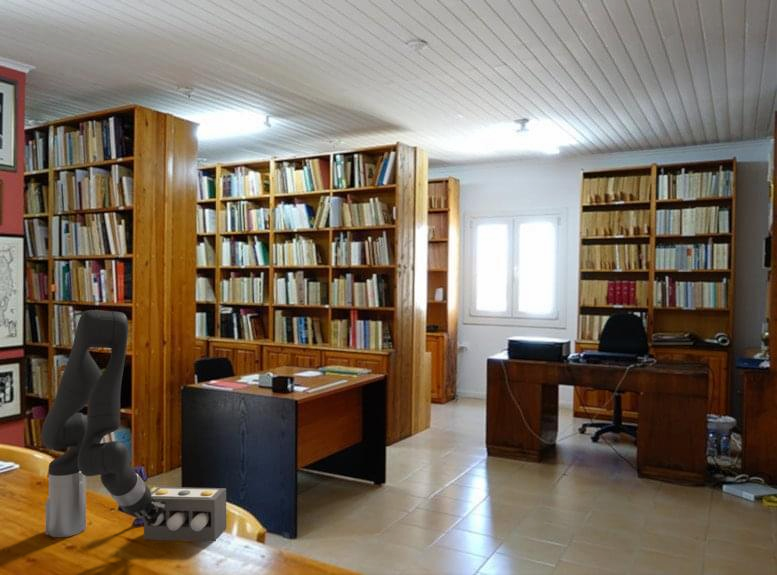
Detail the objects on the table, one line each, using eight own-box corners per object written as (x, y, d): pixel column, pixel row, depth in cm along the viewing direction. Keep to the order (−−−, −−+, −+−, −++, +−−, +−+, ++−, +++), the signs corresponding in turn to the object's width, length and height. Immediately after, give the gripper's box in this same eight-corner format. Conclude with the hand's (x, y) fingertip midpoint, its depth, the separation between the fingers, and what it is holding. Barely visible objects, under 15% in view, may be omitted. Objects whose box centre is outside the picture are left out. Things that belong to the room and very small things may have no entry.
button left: (148, 525, 162) (148, 512, 162) (159, 516, 168) (159, 503, 168) (161, 525, 161) (161, 512, 161) (171, 516, 168) (171, 503, 168)
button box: (143, 539, 163) (143, 496, 162) (159, 526, 172) (158, 484, 171) (214, 541, 161) (214, 497, 161) (226, 528, 170) (226, 486, 170)
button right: (190, 531, 158) (190, 517, 158) (200, 521, 164) (200, 508, 164) (203, 531, 158) (203, 518, 158) (212, 521, 164) (212, 508, 164)
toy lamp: (141, 528, 170) (140, 470, 170) (126, 526, 171) (126, 469, 171) (151, 521, 175) (150, 465, 175) (137, 520, 176) (136, 464, 176)
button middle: (167, 530, 158) (166, 517, 158) (177, 520, 165) (177, 507, 165) (180, 530, 158) (179, 517, 158) (190, 521, 165) (189, 508, 165)
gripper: (160, 477, 150) (181, 507, 163) (110, 476, 151) (134, 506, 164) (150, 506, 145) (172, 534, 157) (98, 505, 146) (124, 533, 158)
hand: (153, 520), depth 161 cm, fingers closed
